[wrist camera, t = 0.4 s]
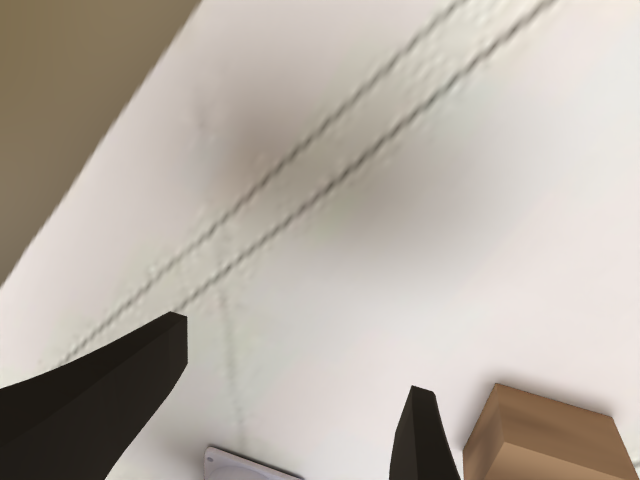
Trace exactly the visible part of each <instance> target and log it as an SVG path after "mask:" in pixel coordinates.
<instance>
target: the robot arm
mask: <svg viewBox="0 0 640 480" xmlns="http://www.w3.org/2000/svg"><path fill="white" fill-rule="evenodd" d="M187 364H188V346H187V316H184V315H180V314H177V313H174V312H171V311H170V312H168V313H166V314H164V315H162V316H160V317H158V318H157V319H155V320H153V321H151V322H149V323H147V324H146V325H144V326H142V327H140V328H138V329H136V330H134V331H133V332H131V333H129V334H127V335H125V336H123V337H121V338H119V339H117V340H116V341H114V342H112V343H110V344H108V345H106V346H104V347H102V348H100V349H98V350H95V351H93V352H91V353H89V354H87V355H85V356H83V357H81V358H79V359H77V360H74V361H72V362H70V363H68V364H66V365H63V366H61V367H58V368H56V369H54V370H51V371H49V372H46V373H44V374H41V375H38V376H36V377H33V378H31V379H28V380H25V381H22V382H19V383H16V384H13V385H10V386H7V387H4V388H1V389H0V480H105V478H106V477H107V475H108V474H109V472H110V471H111V469H112V468H113V466H114V465H115V463H116V462H117V461H118V459H119V458H120V457H121V455H122V454H123V452H124V451H125V450H126V449H127V447H128V446H129V445H130V444H131V442H132V441H133V440H134V438H135V437H136V436H137V435H138V433H139V432H140V431H141V430H142V428H143V427H144V426H145V424H146V423H147V422H148V421H149V419H150V418H151V417H152V416H153V414H154V413H155V412H156V410H157V409H158V408H159V407H160V405H161V404H162V403H163V401H164V400H165V399H166V398H167V396H168V395H169V394H170V392H171V391H172V389H173V388H174V386H175V384H176V383H177V381H178V379H179V378H180V376H181V374H182V373H183V371H184V369H185V368H186V366H187ZM204 480H301V479H298V478H296V477H293V476H290V475H287V474H285V473H282V472H279V471H276V470H274V469H271V468H268V467H265V466H263V465H260V464H257V463H254V462H252V461H249V460H246V459H243V458H241V457H238V456H235V455H232V454H230V453H227V452H224V451H222V450H219V449H216V448H213V447H208V448H207V449H206V451H205V460H204ZM389 480H461V479H460V476H459V474H458V471H457V468H456V465H455V462H454V459H453V457H452V454H451V451H450V448H449V445H448V442H447V438H446V435H445V432H444V428H443V425H442V421H441V418H440V414H439V410H438V405H437V401H436V396H435V394H434V393H433V392H432V391H429V390H426V389H423V388H419V387H416V386H413V385H412V386H411V389H410V392H409V395H408V398H407V400H406V403H405V406H404V409H403V412H402V415H401V418H400V420H399V423H398V426H397V429H396V432H395V438H394V444H393V450H392V456H391V463H390V472H389Z"/></svg>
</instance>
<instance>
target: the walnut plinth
mask: <svg viewBox="0 0 640 480" xmlns="http://www.w3.org/2000/svg"><path fill="white" fill-rule="evenodd" d="M463 472H464V480H639V478H638V475H637V473H636V471H635V468H634V466H633V464H632V462H631V459H630V457H629V455H628V452H627V450H626V448H625V446H624V443H623V441H622V439H621V436H620V434H619V432H618V430H617V427H616V425H615V423H614V420H613V418H612V417H609V416H606V415H602V414H599V413H596V412H592V411H589V410H585V409H582V408H579V407H575V406H572V405H568V404H565V403H562V402H558V401H555V400H551V399H548V398H545V397H541V396H538V395H535V394H531V393H528V392H524V391H521V390H518V389H514V388H511V387H507V386H504V385H501V384H497V383H496V384H495V386H494V388H493V390H492V392H491V394H490V396H489V398H488V400H487V402H486V404H485V406H484V408H483V410H482V412H481V414H480V417H479V419H478V421H477V423H476V425H475V427H474V429H473V431H472V433H471V435H470V437H469V439H468V441H467V443H466V445H465V447H464V450H463Z"/></svg>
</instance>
